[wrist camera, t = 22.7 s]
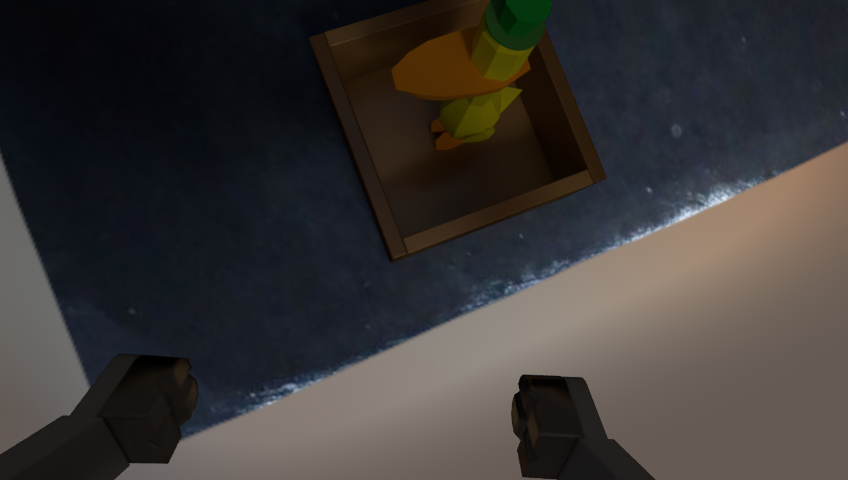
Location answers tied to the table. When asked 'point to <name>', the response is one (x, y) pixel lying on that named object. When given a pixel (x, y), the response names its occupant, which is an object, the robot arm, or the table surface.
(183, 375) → the robot arm
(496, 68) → the toy figure
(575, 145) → the open wooden box
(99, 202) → the table surface
